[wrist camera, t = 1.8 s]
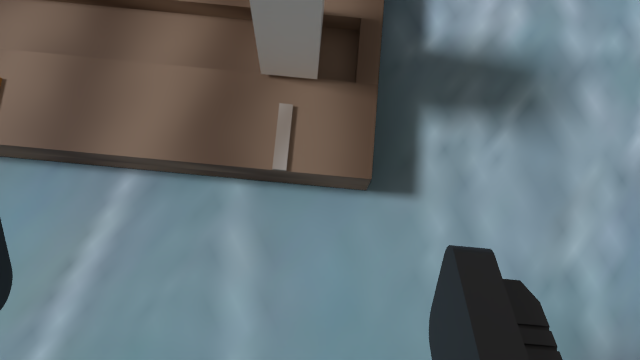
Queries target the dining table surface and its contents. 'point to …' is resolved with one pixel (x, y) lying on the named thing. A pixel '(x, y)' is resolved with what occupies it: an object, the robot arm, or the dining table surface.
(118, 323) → the dining table surface
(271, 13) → the fader tab
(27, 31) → the fader console
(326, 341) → the dining table surface
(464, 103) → the dining table surface
